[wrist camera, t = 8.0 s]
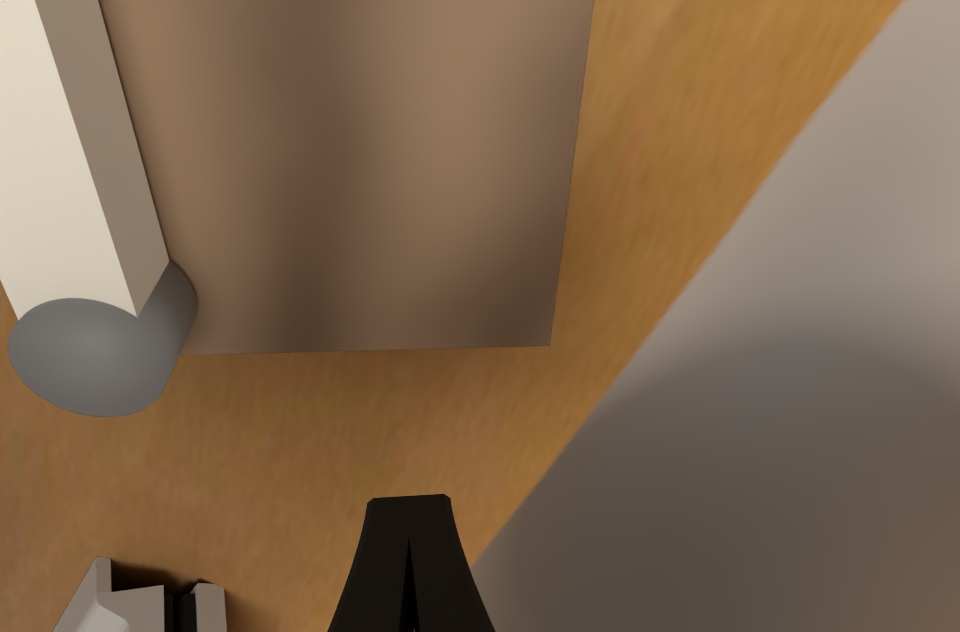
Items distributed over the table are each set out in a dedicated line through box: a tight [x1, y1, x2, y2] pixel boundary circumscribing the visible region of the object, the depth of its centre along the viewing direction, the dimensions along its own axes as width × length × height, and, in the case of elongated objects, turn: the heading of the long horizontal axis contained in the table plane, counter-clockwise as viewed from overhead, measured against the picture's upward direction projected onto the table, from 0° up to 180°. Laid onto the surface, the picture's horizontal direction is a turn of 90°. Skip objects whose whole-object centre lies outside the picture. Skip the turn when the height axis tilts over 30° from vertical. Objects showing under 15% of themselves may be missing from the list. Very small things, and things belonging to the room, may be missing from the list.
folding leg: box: [0, 0, 197, 417], centre depth 13 cm, size 13×3×3 cm, turn 178°
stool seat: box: [98, 0, 594, 355], centre depth 13 cm, size 14×16×5 cm
